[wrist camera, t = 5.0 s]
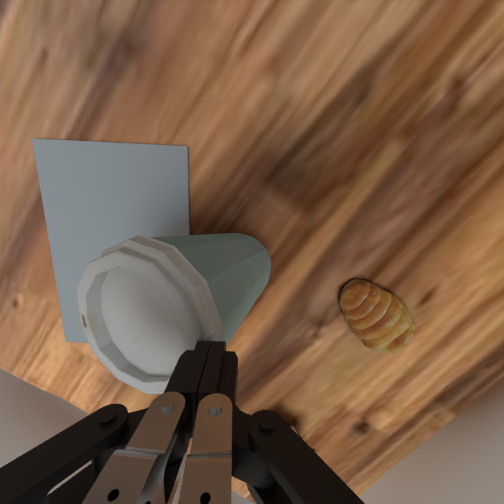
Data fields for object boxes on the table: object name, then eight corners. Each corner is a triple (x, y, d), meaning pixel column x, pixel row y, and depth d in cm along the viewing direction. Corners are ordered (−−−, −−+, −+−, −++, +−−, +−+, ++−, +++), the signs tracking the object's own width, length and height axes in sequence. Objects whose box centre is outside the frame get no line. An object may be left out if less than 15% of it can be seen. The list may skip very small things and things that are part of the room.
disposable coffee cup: (289, 213, 24) (182, 239, 11) (294, 317, 26) (209, 440, 13) (201, 218, 29) (54, 240, 16) (212, 305, 31) (90, 387, 18)
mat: (35, 139, 26) (32, 138, 26) (188, 146, 26) (187, 146, 26) (68, 339, 32) (65, 341, 32) (191, 345, 32) (191, 347, 32)
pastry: (322, 300, 31) (331, 315, 27) (365, 263, 30) (381, 274, 26) (369, 347, 33) (384, 367, 29) (412, 314, 31) (433, 331, 28)
